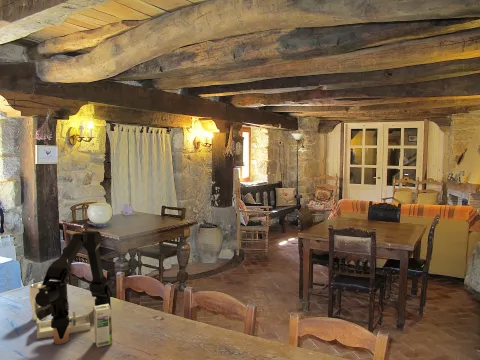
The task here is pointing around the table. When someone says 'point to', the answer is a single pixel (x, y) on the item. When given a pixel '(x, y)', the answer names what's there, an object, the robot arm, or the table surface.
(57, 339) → the terracotta jar
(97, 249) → the robot arm
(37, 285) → the beer glass
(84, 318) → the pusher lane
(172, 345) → the table surface
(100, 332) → the syrup box
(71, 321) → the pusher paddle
